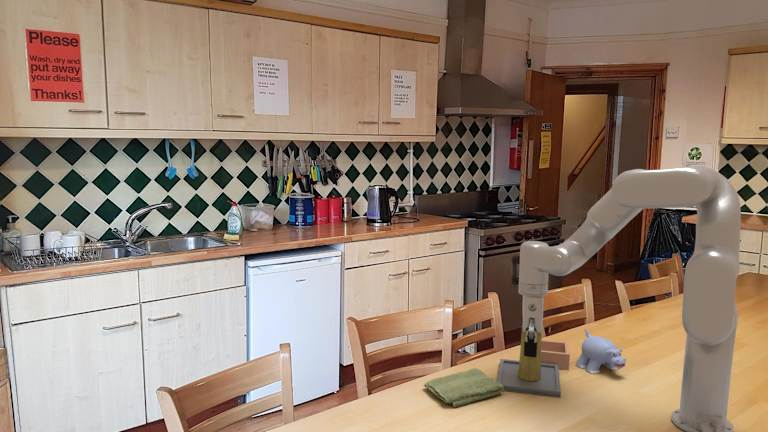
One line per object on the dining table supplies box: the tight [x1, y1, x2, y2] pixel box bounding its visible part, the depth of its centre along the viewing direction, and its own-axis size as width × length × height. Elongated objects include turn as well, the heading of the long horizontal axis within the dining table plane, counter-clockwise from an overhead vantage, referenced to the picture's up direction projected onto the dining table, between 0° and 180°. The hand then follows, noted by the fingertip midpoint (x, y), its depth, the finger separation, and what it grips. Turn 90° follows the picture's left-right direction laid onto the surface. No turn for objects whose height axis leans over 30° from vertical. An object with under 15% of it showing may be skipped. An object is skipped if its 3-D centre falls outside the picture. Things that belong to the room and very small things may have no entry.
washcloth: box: [423, 367, 504, 408], centre depth 151 cm, size 13×18×3 cm
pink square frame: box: [541, 339, 570, 371], centre depth 172 cm, size 10×10×4 cm
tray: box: [496, 358, 562, 398], centre depth 159 cm, size 18×16×2 cm
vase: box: [518, 324, 543, 381], centre depth 158 cm, size 6×6×14 cm
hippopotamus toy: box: [575, 328, 627, 375], centre depth 167 cm, size 11×15×10 cm
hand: (530, 349), depth 158 cm, fingers open, 9 cm apart
